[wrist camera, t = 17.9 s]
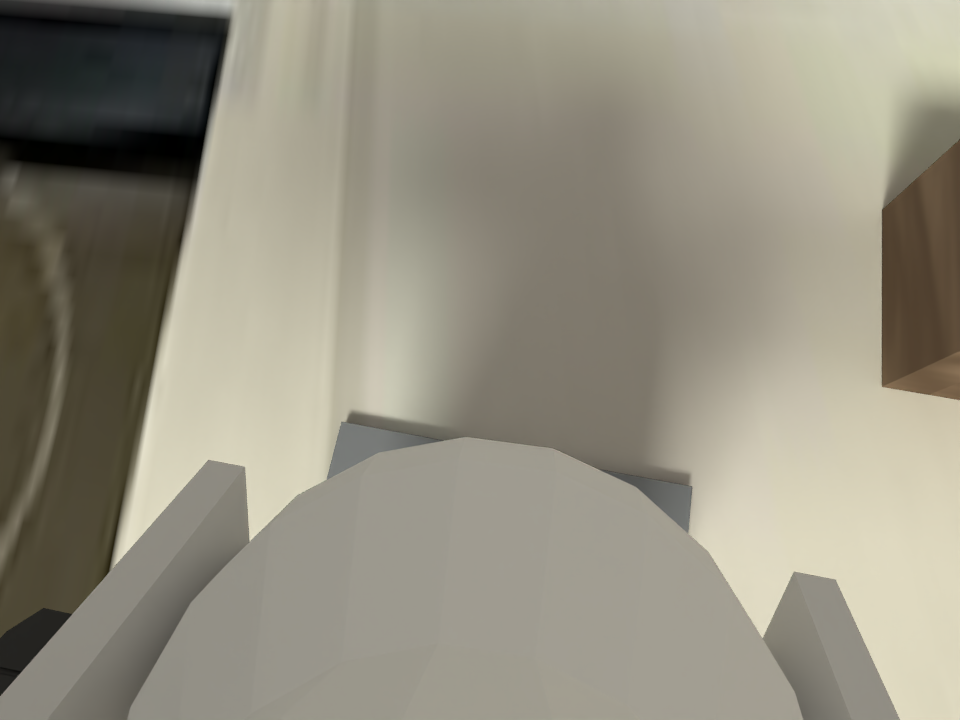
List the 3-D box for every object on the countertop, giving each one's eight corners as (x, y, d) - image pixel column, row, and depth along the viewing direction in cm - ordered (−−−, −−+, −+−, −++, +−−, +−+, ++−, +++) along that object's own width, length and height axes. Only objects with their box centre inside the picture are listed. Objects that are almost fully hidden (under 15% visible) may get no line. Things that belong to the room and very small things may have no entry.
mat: (244, 816, 24) (238, 822, 23) (344, 424, 28) (341, 421, 28) (649, 909, 23) (653, 918, 22) (688, 488, 27) (692, 486, 27)
